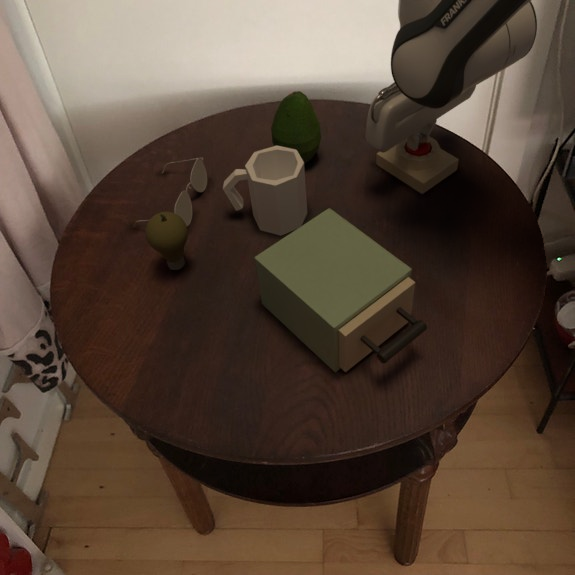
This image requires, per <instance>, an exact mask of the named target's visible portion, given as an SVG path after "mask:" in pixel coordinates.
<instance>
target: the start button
mask: <svg viewBox="0 0 575 575" xmlns="http://www.w3.org/2000/svg"><path fill="white" fill-rule="evenodd" d="M406 152H407V153H409V154H411V155H415V156H423V155H427V154H428V153H429V152H430V144H429V142H428V143H426V144H425V145H423V146H422V147H420V148H418V149H417V150H416V151H413V150H411V149H410V148H408V146H407V145H406Z"/></svg>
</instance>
